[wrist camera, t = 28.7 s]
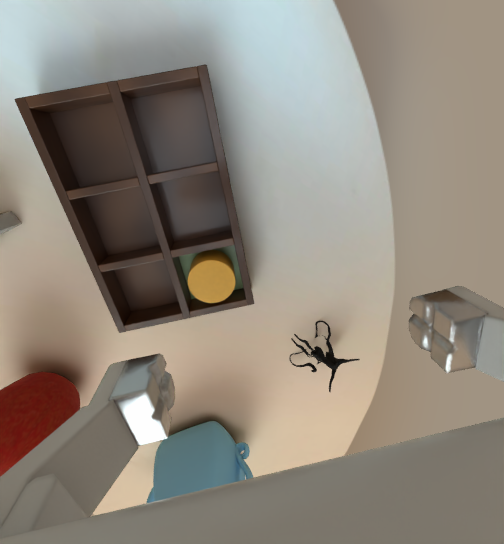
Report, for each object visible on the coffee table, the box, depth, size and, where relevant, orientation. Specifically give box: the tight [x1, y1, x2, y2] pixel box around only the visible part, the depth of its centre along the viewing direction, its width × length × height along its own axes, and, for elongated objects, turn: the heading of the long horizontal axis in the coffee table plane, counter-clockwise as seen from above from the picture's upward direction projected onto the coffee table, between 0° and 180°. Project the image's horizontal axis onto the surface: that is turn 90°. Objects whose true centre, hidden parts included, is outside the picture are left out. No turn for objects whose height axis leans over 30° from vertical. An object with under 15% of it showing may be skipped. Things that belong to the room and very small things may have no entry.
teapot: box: [147, 421, 253, 503], centre depth 39 cm, size 12×18×12 cm
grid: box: [15, 65, 254, 333], centre depth 28 cm, size 15×23×4 cm
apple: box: [0, 372, 80, 477], centre depth 30 cm, size 10×10×14 cm
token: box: [188, 250, 236, 303], centre depth 31 cm, size 5×5×3 cm
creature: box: [290, 321, 360, 392], centre depth 37 cm, size 8×5×8 cm
